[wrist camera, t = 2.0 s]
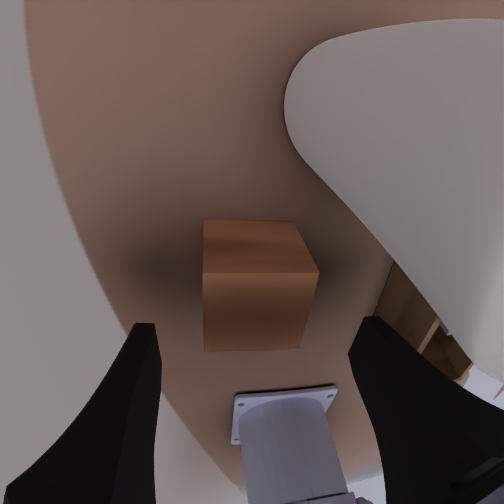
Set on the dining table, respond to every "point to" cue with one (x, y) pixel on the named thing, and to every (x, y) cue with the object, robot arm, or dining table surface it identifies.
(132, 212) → the dining table surface
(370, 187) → the can
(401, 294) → the brown rectangular box
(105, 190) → the dining table surface
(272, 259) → the block
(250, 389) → the dining table surface
